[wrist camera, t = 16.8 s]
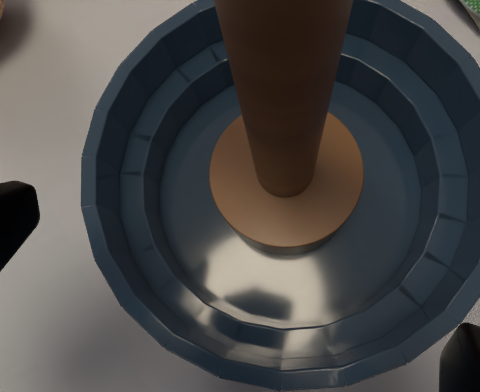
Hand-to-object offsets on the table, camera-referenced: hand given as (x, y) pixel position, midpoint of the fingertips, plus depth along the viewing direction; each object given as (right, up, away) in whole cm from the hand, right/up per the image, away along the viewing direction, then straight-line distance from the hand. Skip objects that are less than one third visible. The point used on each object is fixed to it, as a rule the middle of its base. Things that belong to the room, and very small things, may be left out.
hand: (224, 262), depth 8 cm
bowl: (+3, +2, +11) cm, 11 cm away
